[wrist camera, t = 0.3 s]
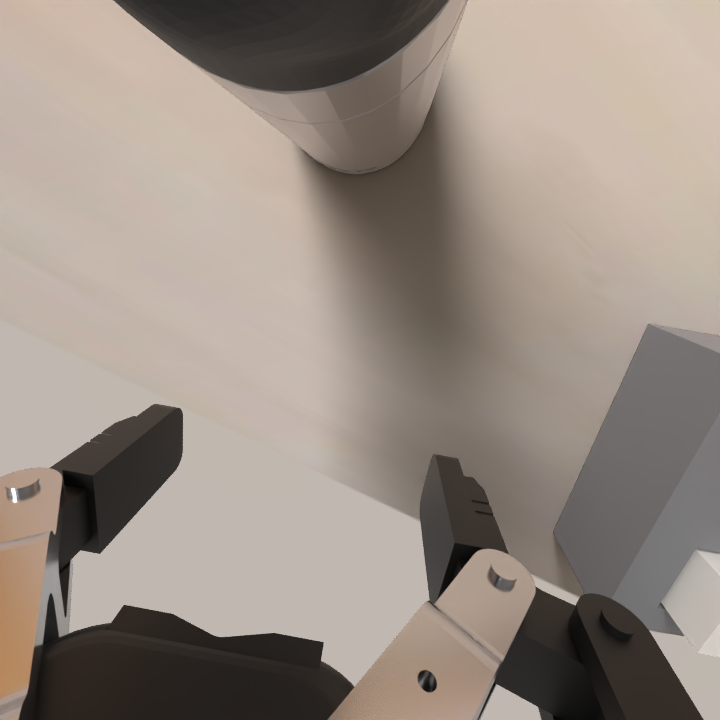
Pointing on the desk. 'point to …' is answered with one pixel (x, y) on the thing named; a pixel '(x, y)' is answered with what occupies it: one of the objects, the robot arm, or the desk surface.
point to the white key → (698, 602)
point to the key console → (650, 477)
